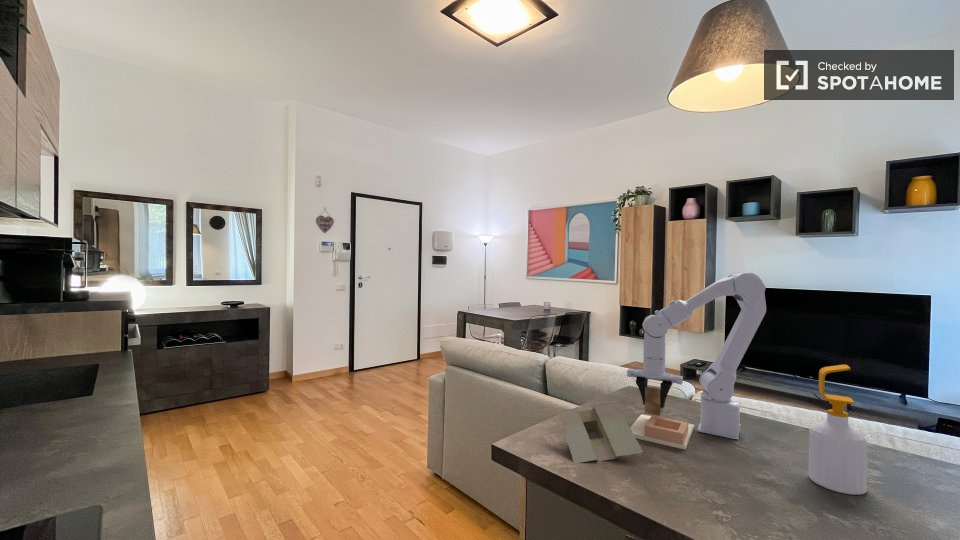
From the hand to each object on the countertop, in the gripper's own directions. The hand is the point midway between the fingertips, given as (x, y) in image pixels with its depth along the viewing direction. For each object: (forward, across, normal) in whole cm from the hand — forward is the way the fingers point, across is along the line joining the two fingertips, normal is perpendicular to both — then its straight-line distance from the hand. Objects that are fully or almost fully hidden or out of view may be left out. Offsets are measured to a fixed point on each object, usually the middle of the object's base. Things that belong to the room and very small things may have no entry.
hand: (653, 405), depth 116 cm
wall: (+6, -8, -26) cm, 28 cm away
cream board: (+5, +3, -5) cm, 8 cm away
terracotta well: (+4, +5, -9) cm, 11 cm away
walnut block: (+2, 0, 0) cm, 2 cm away
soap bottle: (+6, +38, -13) cm, 40 cm away
